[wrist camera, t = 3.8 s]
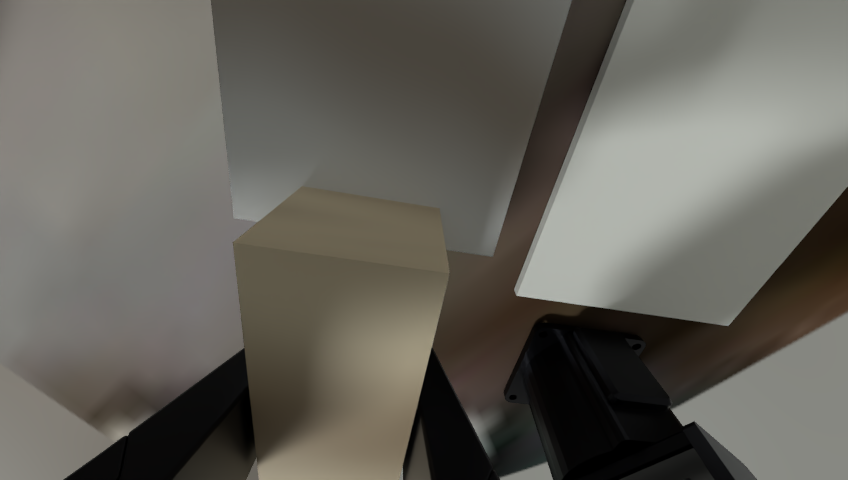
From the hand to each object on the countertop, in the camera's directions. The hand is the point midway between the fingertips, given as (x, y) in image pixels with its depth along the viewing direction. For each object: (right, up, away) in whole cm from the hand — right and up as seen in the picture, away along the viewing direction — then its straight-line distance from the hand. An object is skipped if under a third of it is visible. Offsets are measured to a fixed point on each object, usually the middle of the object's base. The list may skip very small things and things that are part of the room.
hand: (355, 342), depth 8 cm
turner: (+1, +3, 0) cm, 3 cm away
